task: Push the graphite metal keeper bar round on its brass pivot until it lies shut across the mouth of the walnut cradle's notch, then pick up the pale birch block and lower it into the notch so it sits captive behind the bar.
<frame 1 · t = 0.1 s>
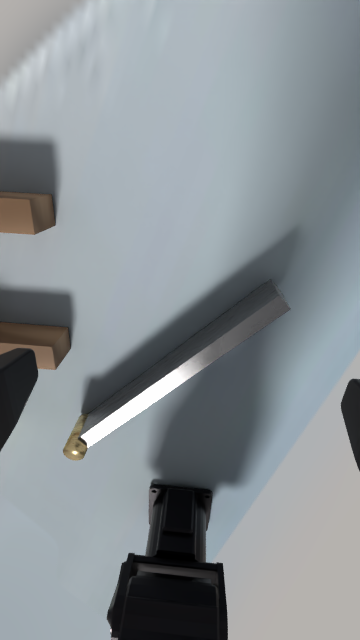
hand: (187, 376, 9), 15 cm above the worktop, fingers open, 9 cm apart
keeper bar: (162, 378, 25), point 2 cm above the worktop, hinge at -45.0°
walnut cradle: (10, 276, 24), on the worktop
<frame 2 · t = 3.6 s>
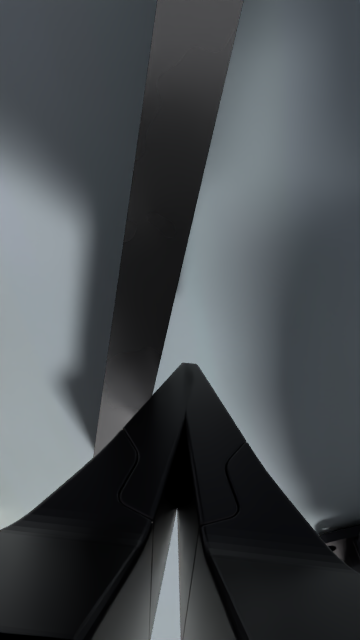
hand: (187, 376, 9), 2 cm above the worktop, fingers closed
keeper bar: (155, 261, 8), point 2 cm above the worktop, hinge at -41.4°, touching gripper
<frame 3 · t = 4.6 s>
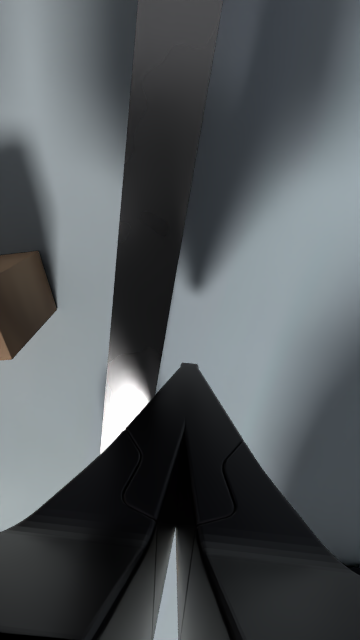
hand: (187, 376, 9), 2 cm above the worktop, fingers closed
keeper bar: (151, 262, 8), point 2 cm above the worktop, hinge at -16.5°, touching gripper
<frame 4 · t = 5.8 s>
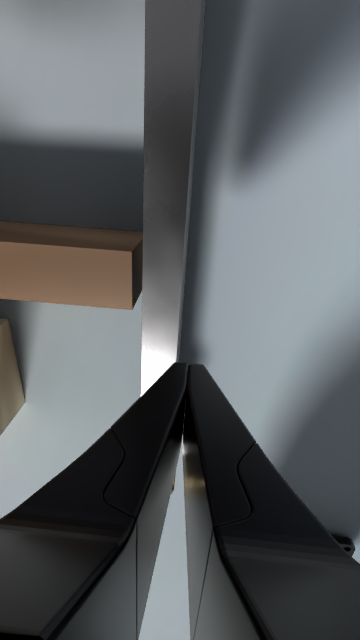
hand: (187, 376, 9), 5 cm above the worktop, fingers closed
keeper bar: (167, 239, 11), point 2 cm above the worktop, hinge at -0.2°
walnut cradle: (33, 105, 11), on the worktop
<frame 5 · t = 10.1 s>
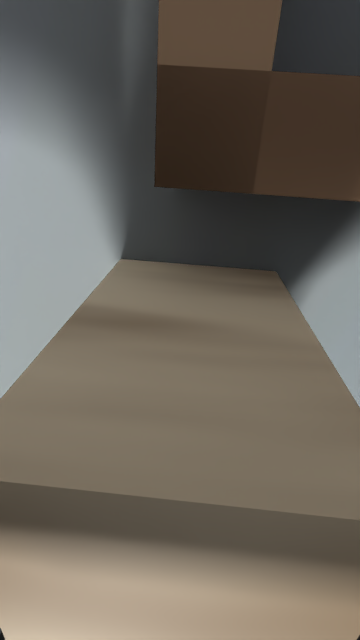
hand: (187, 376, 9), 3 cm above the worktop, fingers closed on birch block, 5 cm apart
birch block: (191, 332, 11), on the worktop, touching gripper
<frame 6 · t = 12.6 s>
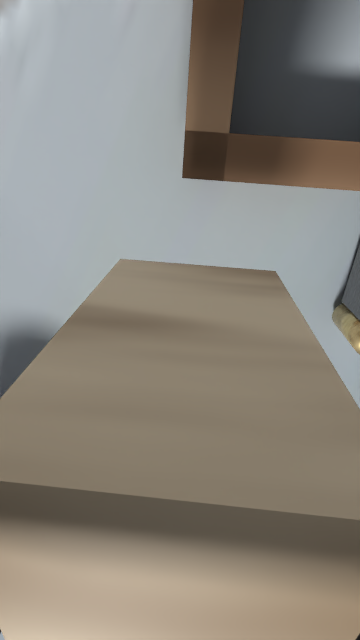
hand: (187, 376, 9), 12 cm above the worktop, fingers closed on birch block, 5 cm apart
birch block: (191, 332, 11), point 10 cm above the worktop, touching gripper
walnut cradle: (320, 46, 15), on the worktop
when the fingers open (4 cm above the worktop, at t = 15.4 s): birch block drops 1 cm, on the worktop.
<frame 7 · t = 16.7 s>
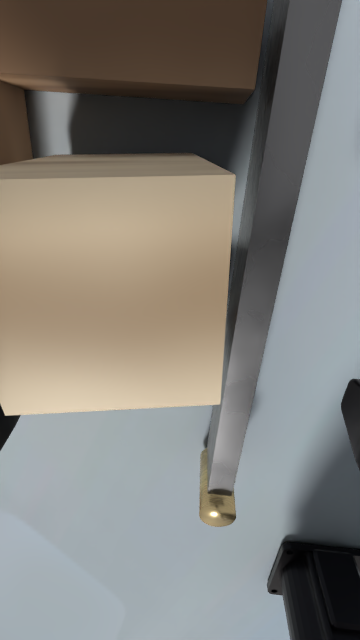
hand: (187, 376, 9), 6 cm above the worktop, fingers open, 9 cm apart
birch block: (130, 222, 13), on the worktop, tilted 8°, touching gripper
keeper bar: (245, 325, 13), point 2 cm above the worktop, hinge at -0.2°
walnut cradle: (132, 212, 13), on the worktop
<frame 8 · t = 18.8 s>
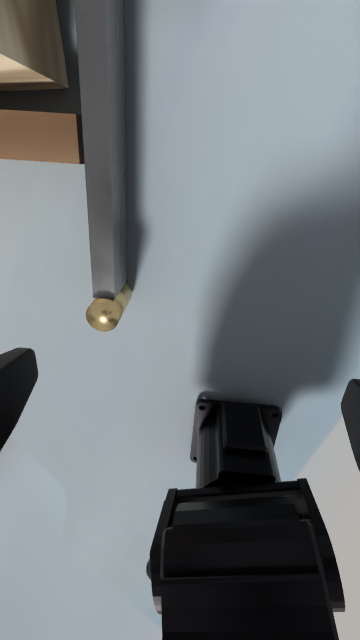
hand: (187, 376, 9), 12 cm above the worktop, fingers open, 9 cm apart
birch block: (9, 27, 16), on the worktop
keeper bar: (103, 109, 15), point 2 cm above the worktop, hinge at -0.2°
walnut cradle: (9, 17, 15), on the worktop
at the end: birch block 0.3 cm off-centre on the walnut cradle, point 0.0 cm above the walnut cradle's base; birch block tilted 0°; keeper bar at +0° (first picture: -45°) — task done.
